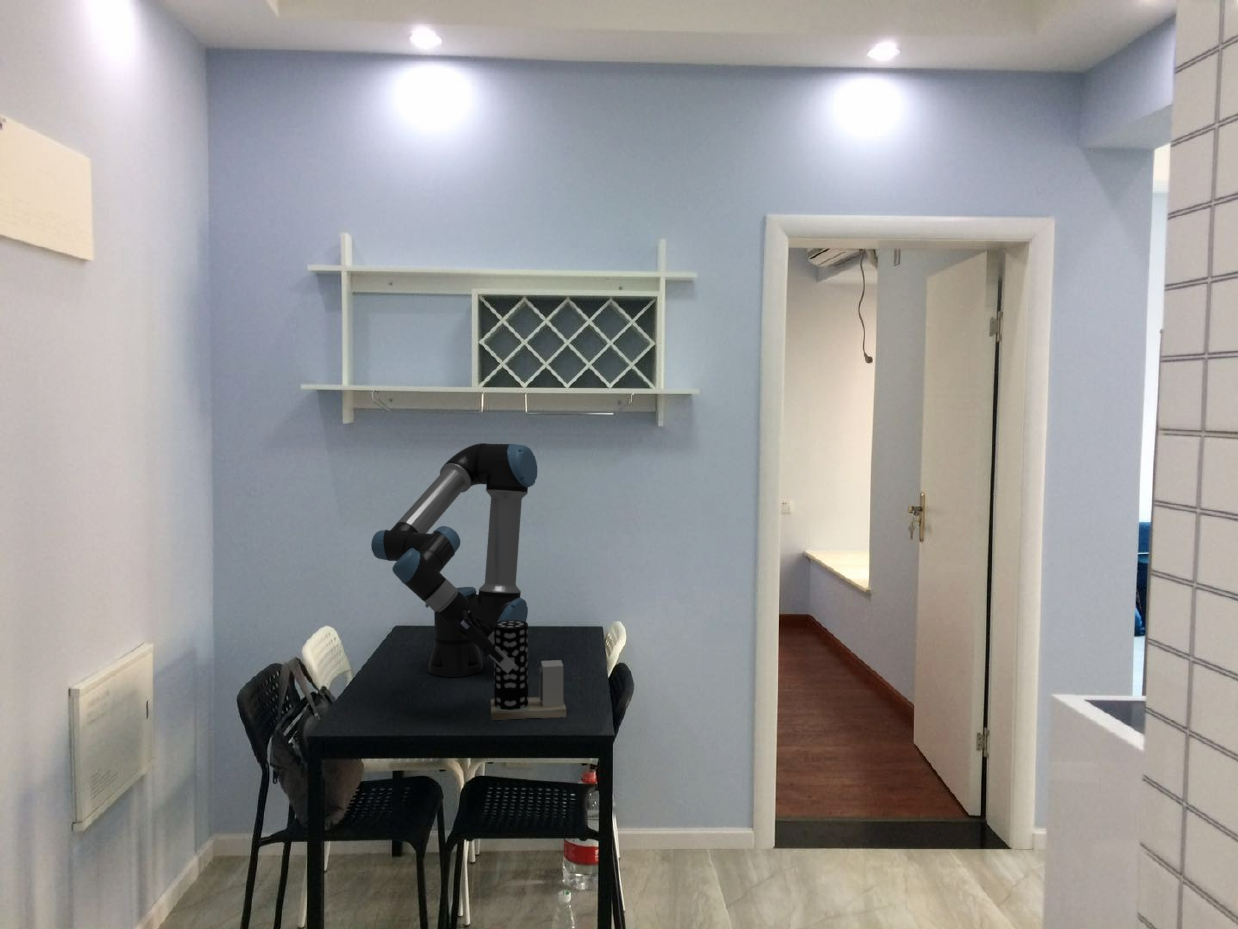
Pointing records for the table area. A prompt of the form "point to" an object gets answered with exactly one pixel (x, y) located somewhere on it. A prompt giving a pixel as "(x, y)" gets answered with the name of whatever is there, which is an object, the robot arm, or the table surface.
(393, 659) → the table surface
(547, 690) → the block
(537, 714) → the beige rectangular board
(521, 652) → the white-spotted black cylinder
